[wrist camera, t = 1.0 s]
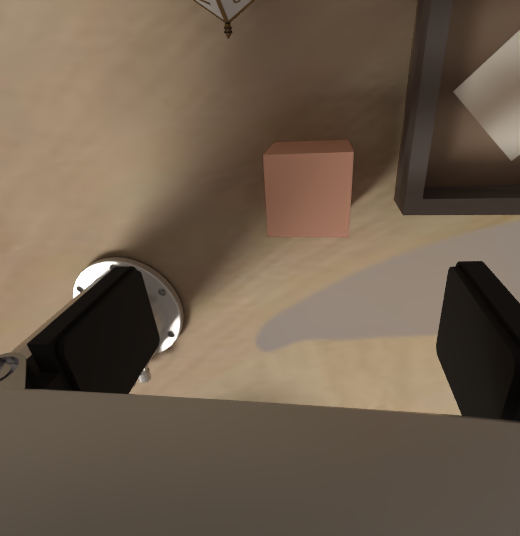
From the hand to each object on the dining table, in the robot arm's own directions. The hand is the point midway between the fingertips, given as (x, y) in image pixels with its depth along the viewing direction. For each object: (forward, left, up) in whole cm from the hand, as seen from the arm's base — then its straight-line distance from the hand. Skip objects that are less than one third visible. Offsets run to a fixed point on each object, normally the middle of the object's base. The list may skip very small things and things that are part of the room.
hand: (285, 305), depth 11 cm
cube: (-1, 0, -21) cm, 21 cm away
